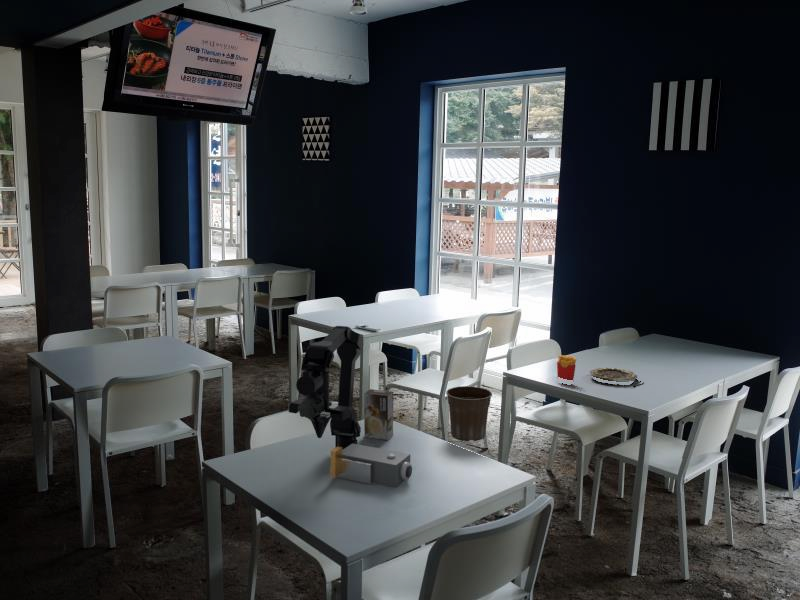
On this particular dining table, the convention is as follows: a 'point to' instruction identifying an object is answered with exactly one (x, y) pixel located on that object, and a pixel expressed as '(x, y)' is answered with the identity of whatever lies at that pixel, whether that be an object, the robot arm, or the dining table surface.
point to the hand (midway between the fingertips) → (319, 437)
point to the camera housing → (382, 463)
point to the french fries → (566, 367)
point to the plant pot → (468, 412)
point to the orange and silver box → (349, 468)
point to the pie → (613, 374)
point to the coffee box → (378, 414)
